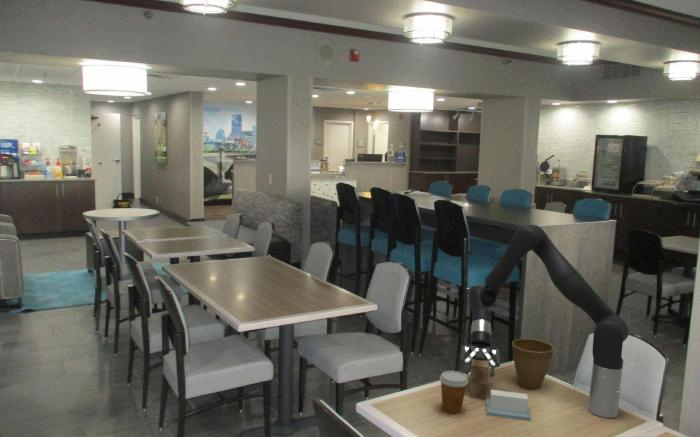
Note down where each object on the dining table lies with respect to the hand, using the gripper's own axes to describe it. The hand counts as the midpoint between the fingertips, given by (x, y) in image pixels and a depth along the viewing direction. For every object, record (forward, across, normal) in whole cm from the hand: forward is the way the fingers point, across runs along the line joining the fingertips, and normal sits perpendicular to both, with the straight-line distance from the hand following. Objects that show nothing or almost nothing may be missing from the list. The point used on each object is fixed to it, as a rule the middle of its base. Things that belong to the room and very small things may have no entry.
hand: (479, 375), depth 200 cm
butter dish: (+12, +10, -2) cm, 16 cm away
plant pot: (-5, +19, +15) cm, 25 cm away
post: (+6, 0, +5) cm, 8 cm away
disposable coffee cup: (+16, -9, -5) cm, 19 cm away
